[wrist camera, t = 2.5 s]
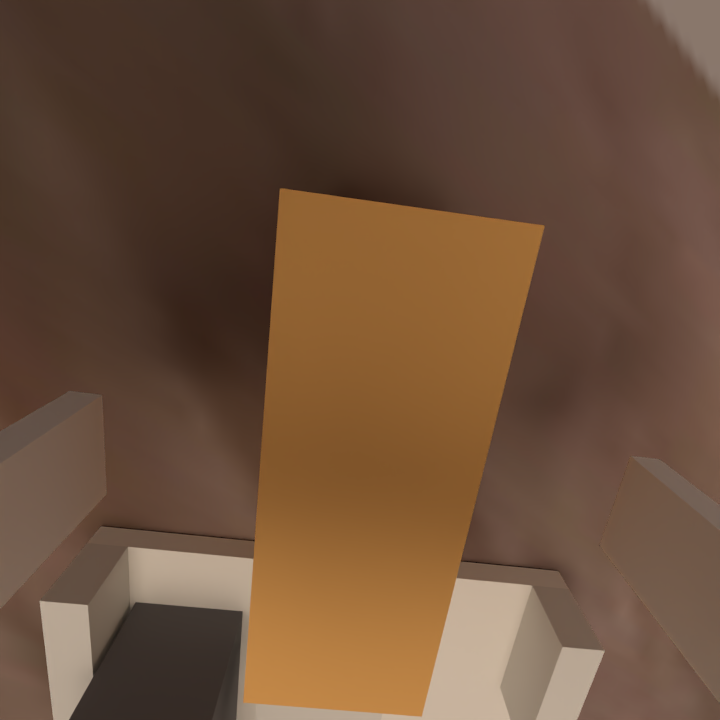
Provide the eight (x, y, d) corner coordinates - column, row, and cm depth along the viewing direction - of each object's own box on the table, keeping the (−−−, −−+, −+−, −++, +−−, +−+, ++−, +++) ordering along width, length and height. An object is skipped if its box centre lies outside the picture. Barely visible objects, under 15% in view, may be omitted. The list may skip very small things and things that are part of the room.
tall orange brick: (317, 203, 15) (279, 188, 7) (448, 221, 15) (544, 225, 7) (288, 502, 18) (243, 702, 11) (394, 513, 19) (421, 716, 11)
